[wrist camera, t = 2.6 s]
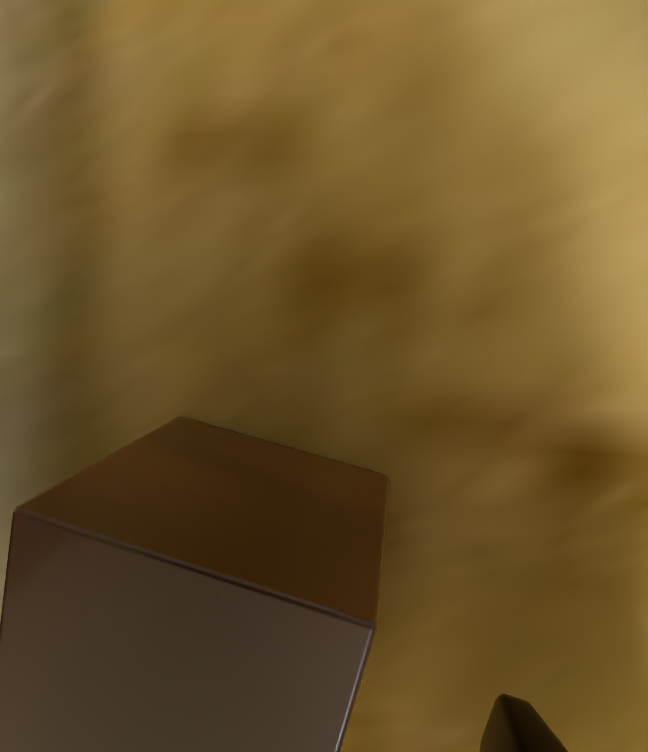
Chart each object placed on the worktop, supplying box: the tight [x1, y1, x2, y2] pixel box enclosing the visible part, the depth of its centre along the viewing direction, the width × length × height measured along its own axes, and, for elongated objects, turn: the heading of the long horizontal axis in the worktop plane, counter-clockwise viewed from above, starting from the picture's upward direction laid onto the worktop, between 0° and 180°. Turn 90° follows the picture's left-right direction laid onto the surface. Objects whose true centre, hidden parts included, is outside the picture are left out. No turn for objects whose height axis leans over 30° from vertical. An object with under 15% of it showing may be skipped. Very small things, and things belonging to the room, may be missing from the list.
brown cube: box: [0, 417, 389, 752], centre depth 8 cm, size 4×4×4 cm
